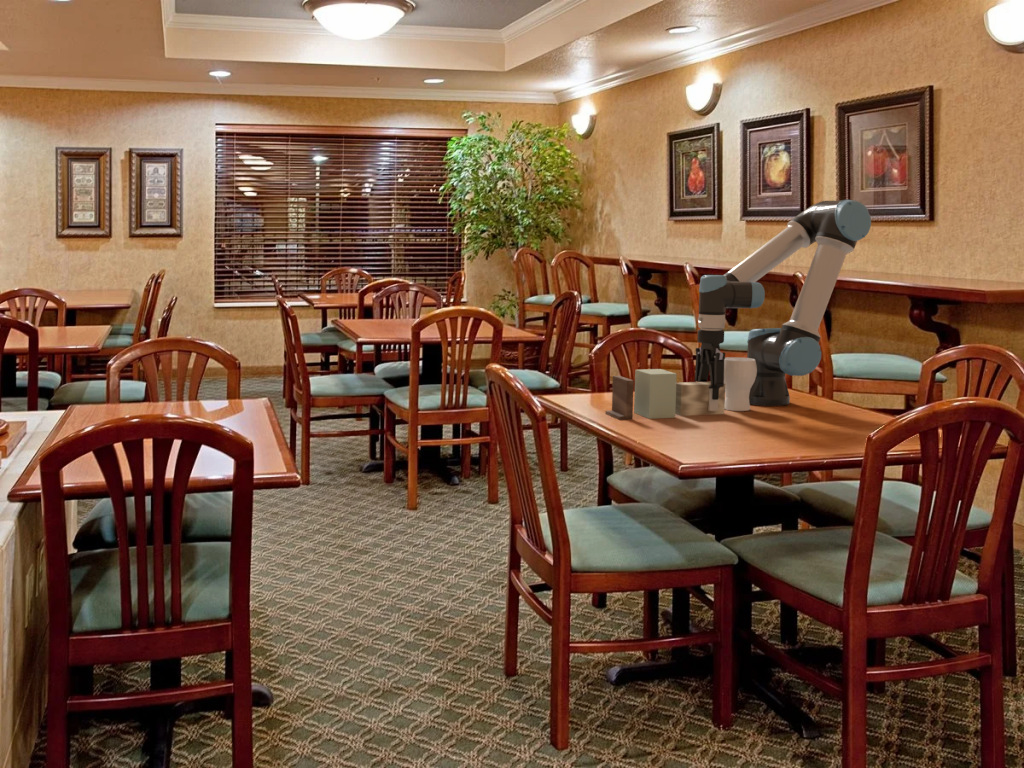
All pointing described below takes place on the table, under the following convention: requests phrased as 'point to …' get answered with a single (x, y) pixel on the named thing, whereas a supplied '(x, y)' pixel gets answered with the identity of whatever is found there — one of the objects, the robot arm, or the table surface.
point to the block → (655, 393)
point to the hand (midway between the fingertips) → (707, 408)
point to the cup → (738, 382)
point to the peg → (696, 399)
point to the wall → (622, 398)
